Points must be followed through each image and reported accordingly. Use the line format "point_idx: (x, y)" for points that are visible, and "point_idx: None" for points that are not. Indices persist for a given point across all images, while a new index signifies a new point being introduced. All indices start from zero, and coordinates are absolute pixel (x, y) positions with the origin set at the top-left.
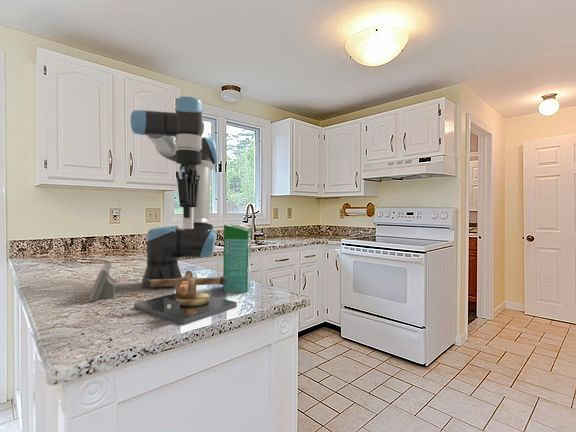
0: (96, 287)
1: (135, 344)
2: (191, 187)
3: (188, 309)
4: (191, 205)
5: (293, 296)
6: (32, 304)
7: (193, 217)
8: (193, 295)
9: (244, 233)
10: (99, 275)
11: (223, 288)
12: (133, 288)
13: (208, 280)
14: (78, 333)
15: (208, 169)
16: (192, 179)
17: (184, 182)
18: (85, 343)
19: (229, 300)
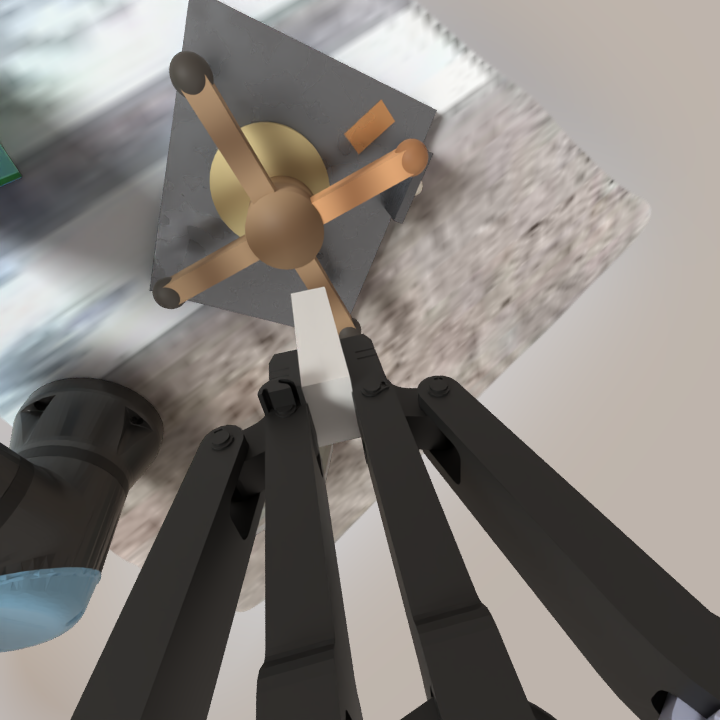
0: (329, 455)
1: (560, 153)
2: (401, 571)
3: (346, 153)
4: (308, 414)
5: None
6: (374, 497)
7: (296, 334)
8: (289, 178)
9: None
10: (326, 478)
11: (15, 179)
12: (187, 451)
13: (243, 137)
14: (505, 311)
15: None
16: (478, 717)
17: (662, 585)
18: (552, 259)
19: (184, 40)
